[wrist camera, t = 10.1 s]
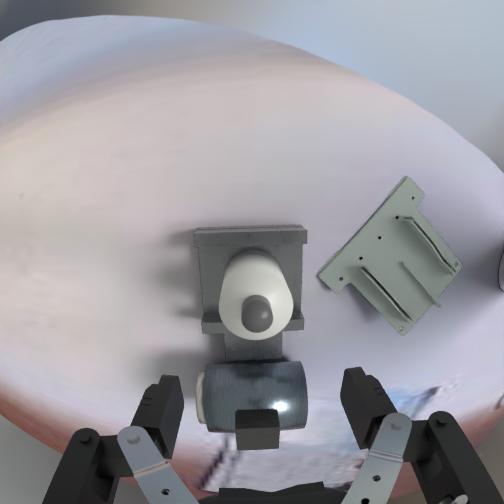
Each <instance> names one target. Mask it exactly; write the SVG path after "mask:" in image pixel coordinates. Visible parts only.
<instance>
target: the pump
mask: <svg viewBox="0 0 504 504" xmlns="http://www.w3.org/2000/svg"><path fill="white" fill-rule="evenodd" d="M292 312H293V299H292V296H291V293H290V290H289V288H288V286H287V283H286V281H285V279H284V276H283V274H282V272H281V269H280V267H279V265H278V263H277V262H276V260H275V259H274V258H273V257H271V256H270V255H269V254H267V253H265V252H262V251H257V250H250V251H245V252H242V253H240V254H238V255H236V256H235V257H234V258H233V259H232V260H231V261H230V262H229V264H228V265H227V268H226V270H225V275H224V280H223V285H222V290H221V295H220V300H219V314H220V317H221V320H222V322H223V323H224V325H225V326H226V327H227V329H228V330H230V331H231V332H232V333H233V334H235V335H237V336H239V337H241V338H244V339H249V340H262V339H266V338H269V337H272V336H274V335H276V334H277V333H279V332H280V331H281V330H282V329H283V328H284V327H285V326H286V325H287V324H288V322H289V320H290V318H291V316H292Z"/></svg>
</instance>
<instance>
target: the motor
mask: <svg viewBox="0 0 504 504" xmlns="http://www.w3.org/2000/svg"><path fill="white" fill-rule="evenodd" d="M303 244H307V230H306V229H305V228H304V227H303V226H302V225H269V226H234V227H206V228H198V229H197V231H196V232H195V233H194V247H198V250H199V264H200V277H201V289H202V300H203V310H204V315H203V319H202V322H201V325H202V333H224V344H225V356H226V360H259V359H278V358H282V331H292V330H304V317H303V315H302V313H301V286H302V246H303ZM250 250H257V251H262V252H265V253H267V254H269V255H270V256H271V257H273V258H274V259H275V260H276V262H277V263H278V265H279V267H280V269H281V272H282V274H283V276H284V279H285V281H286V283H287V286H288V288H289V290H290V293H291V296H292V299H293V312H292V316H291V318H290V320H289V322H288V324H287V325H286V326H285V327H284V328H283V329H282V330H281V331H280V332H279V333H277V334H276V335H274V336H272V337H269V338H266V339H262V340H249V339H244V338H241V337H239V336H237V335H235V334H233V333H232V332H231V331H230V330H228V329H227V327H226V326H225V325H224V323H223V322H222V320H221V317H220V314H219V300H220V295H221V290H222V285H223V280H224V275H225V270H226V268H227V265H228V264H229V262H230V261H231V260H232V259H233V258H234V257H235V256H236V255H238V254H240V253H242V252H245V251H250ZM196 411H197V417H198V420H199V422H200V424H206V425H207V429H208V431H209V432H217V433H235V434H236V443H237V450H262V449H278V448H279V435H280V431H282V430H293V429H302V428H304V427H305V425H306V422H307V414H308V396H307V385H306V378H305V373H304V369H303V366H302V363H301V362H300V361H288V362H273V363H251V364H208V365H207V367H206V371H205V373H199V374H198V377H197V382H196Z"/></svg>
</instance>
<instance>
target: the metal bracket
mask: <svg viewBox="0 0 504 504" xmlns="http://www.w3.org/2000/svg"><path fill="white" fill-rule="evenodd" d="M412 197H414V200H412ZM423 198H424V192H423V191H422V190H421V189H420V188H419V187H418V186H417V184H416V183H415V182H414V181H413V180H412V179H411V178H410V177H408V176H405V177H403V178H402V179H401V180H400V182H399V183H398V184H397V185H396V186H395V188H394V189H393V190H392V191H391V192H390V193H389V197H388V199H387V200H386V201H385V202H384V203H383V205H382V206H381V207H380V208H379V209H378V210H377V211H376V213H375V214H374V215H373V216H372V217H371V218H370V219H369V220H368V222H367V223H366V224H365V225H364V226H363V227H362V228H361V229H360V230H359V231H358V233H357V234H356V235H355V236H354V237H353V238H352V239H351V240H350V241H349V242H348V243H347V244H346V245H345V247H344V248H343V249H342V250H340V251H337V252H336V253H335V254H334V256H333V257H332V258H331V259H330V260H329V261H328V262H327V263H326V264H325V265H324V266H323V267H322V268H321V269H320V270H319V271H318V276H319V278H320V279H321V280H322V281H323V282H324V283H325V284H326V285H327V286H328V287H329V288H330V289H331V290H332V291H333V292H334V293H339V292H340V291H341V290H342V289H343V288H344V287H345V286H346V285H347V284H348V283H352V284H353V285H354V286H355V287H356V288H357V289H358V290H359V291H360V292H361V293H362V294H363V295H364V297H365V298H366V299H367V300H368V301H369V302H370V303H371V304H372V305H373V306H374V307H375V308H376V309H377V310H378V311H379V312H380V313H381V315H382V316H383V317H384V318H385V319H386V320H387V321H388V322H389V323H390V324H391V325H392V326H393V328H394V329H395V330H396V331H397V332H398V333H399V334H400V335H401V336H403V335H405V334H406V333H407V332H408V331H409V329H410V328H411V327H412V326H413V325H414V324H415V323H416V322H417V321H418V320H419V319H420V318H421V317H422V315H423V314H424V313H425V312H426V311H427V310H428V309H429V308H430V306H431V305H432V304H433V303H434V304H435V305H437V306H438V307H441V305H440V304H439V303H438V301H437V300H436V299H437V298H438V297H439V296H440V295H441V293H442V292H443V291H444V290H445V289H446V287H447V286H448V285H449V284H450V282H451V281H452V280H453V278H454V277H455V276H456V275H457V273H458V272H459V271H460V269H461V268H462V265H461V263H460V262H459V260H458V259H457V258H456V256H455V255H454V253H453V252H452V251H451V250H450V248H449V247H448V246H447V244H446V243H445V242H444V241H443V239H442V238H441V237H440V236H439V234H438V233H437V232H436V231H435V229H434V228H433V227H432V226H431V225H430V223H429V222H428V221H427V220H426V219H425V218H424V216H423V215H422V214H421V213H420V212H419V211H418V209H417V205H418V204H419V203H420V201H421V200H422V199H423ZM396 216H398V219H396ZM378 236H381V239H378ZM360 256H361V257H362V260H360V259H359V257H360ZM455 262H457V266H456V267H455ZM340 277H342V278H343V280H342V281H340V280H339V279H340ZM401 326H402V327H403V329H402V330H399V328H400V327H401Z"/></svg>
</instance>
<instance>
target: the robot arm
mask: <svg viewBox="0 0 504 504" xmlns="http://www.w3.org/2000/svg"><path fill="white" fill-rule="evenodd" d="M499 284H500V287H501V289H502V290H503V291H504V253H503V255H502V259H501V262H500V267H499ZM340 398H341V403H342V405H343V408H344V410H345V413H346V415H347V418H348V420H349V423H350V425H351V428H352V430H353V433H354V436H355V438H356V441H357V443H358V446H359V448H360V450H362V449H366V448H368V449H369V453H368V455H367V457H366V459H365V461H364V463H363V465H362V467H361V469H360V471H359V473H358V475H357V477H356V478H355V480H354V482H353V484H352V486H351V487H350V489H349V491H348V493H347V492H345V491H342V490H339V489H335V488H329V487H324V484H323V481H322V482H316V483H309V484H301V485H296V486H293V487H290V488H286V489H283V490H279V491H276V492H265V491H258V490H252V489H246V488H219V494H214V495H211V496H207V497H204V498H202V499H200V500H198V501H197V500H196V499H195V498H194V496H193V495H192V494H191V493H190V491H189V490H188V489H187V488H186V486H185V485H184V484H183V482H182V481H181V480H180V478H179V477H178V476H177V474H176V473H175V471H174V470H173V469H172V467H171V466H170V464H169V463H168V462H166V461H165V460H164V458H165V459H172V455H173V451H174V446H175V442H176V438H177V434H178V430H179V426H180V421H181V417H182V413H183V409H184V399H183V395H182V390H181V386H180V381H179V377H178V376H173V375H162V376H161V379H160V381H159V384H152V385H151V386H150V387H148V388H147V389H146V390H145V392H144V395H143V397H142V399H141V402H140V405H139V406H138V409H137V411H136V413H135V416H134V418H133V420H132V423H131V425H130V426H129V427H126V428H124V429H122V430H121V431H120V432H119V433H118V435H113V436H99V434H98V432H97V431H95V430H93V429H91V428H83V429H80V430H78V431H76V432H75V433H74V434H73V436H72V438H71V440H70V442H69V444H68V446H67V448H66V450H65V452H64V454H63V457H62V459H61V461H60V463H59V466H58V467H57V470H56V472H55V474H54V476H53V479H52V481H51V484H50V486H49V488H48V490H47V493H46V495H45V498H44V500H43V503H42V504H113V502H114V497H115V494H116V490H117V486H118V483H119V479H120V477H133V476H134V477H135V478H136V480H137V482H138V484H139V486H140V487H141V489H142V491H143V493H144V494H145V496H146V498H147V499H148V501H149V502H150V504H386V503H387V500H388V498H389V496H390V493H391V491H392V489H393V486H394V484H395V481H396V479H397V476H398V474H399V471H400V468H401V465H402V463H403V462H411V465H412V467H413V470H414V472H415V474H416V477H417V479H418V482H419V484H420V487H421V489H422V492H423V494H424V496H425V499H426V502H427V504H504V501H503V499H502V497H501V495H500V493H499V491H498V490H497V488H496V486H495V484H494V482H493V480H492V479H491V477H490V475H489V473H488V472H487V470H486V468H485V466H484V465H483V463H482V461H481V460H480V458H479V456H478V455H477V453H476V452H475V450H474V448H473V447H472V445H471V443H470V442H469V440H468V439H467V437H466V435H465V434H464V432H463V431H462V429H461V428H460V426H459V425H458V423H457V422H456V420H455V419H454V417H453V416H452V415H451V414H450V413H448V412H445V411H437V412H434V413H432V414H431V415H430V417H429V419H428V420H417V421H413V420H411V419H410V418H409V417H408V416H407V415H405V414H403V413H398V412H397V410H396V408H395V407H394V405H393V403H392V402H391V400H390V398H389V397H388V395H387V394H386V392H385V390H384V389H383V388H382V385H381V384H380V382H379V381H378V380H377V379H376V378H375V377H373V376H372V375H367V376H366V374H365V373H364V371H363V369H362V368H361V367H355V368H348V369H345V371H344V376H343V382H342V387H341V392H340Z"/></svg>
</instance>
